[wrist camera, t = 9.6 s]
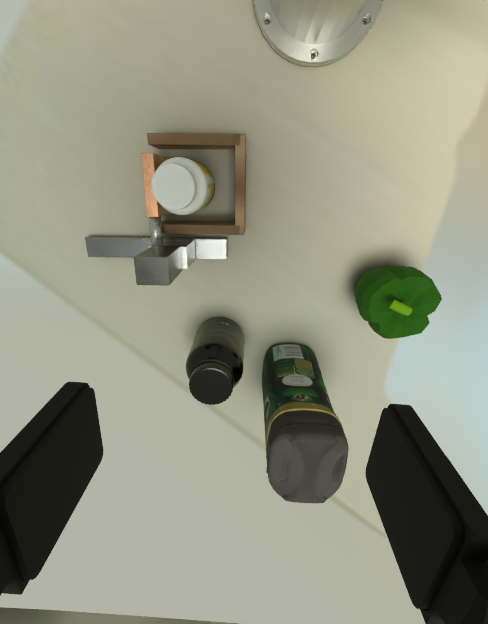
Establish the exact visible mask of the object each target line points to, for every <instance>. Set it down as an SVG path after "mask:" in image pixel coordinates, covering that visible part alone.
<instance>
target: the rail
mask: <svg viewBox="0 0 488 624" xmlns="http://www.w3.org/2000/svg"><path fill="white" fill-rule="evenodd" d="M162 239H181V240H194V242H195V259H227V238H179V237H162ZM85 240H86V246H87V252H88V257H131V258H134V256H136V255H138V254H139V253H141V252H143V251H145V250H146V249H148V248H149V246H150V245H152V242H151V237H115V236H88V237H85Z"/></svg>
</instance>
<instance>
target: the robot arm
mask: <svg viewBox="0 0 488 624" xmlns="http://www.w3.org/2000/svg"><path fill="white" fill-rule="evenodd" d="M382 1H383V0H253V2H254V10H255V14H256V17H257V21H258V24H259V27H260V29H261V31H262V33H263V35H264V37H265V39H266V40H267V41H268V43H269V44H270V45H271V47H272V48H273V49H274V50H275V51H276V52H277V53H278V54H279V55H281V56H282V57H283V58H285V59H287V60H288V61H290V62H292V63H295V64H298V65H302V66H311V67H316V66H322V65H327V64H330V63H332V62H335V61H337V60H339V59H340V58H342V57H343V56H345V55H347V54H348V53H349V52H350V51H351V50H353V49H354V48H355V47H356V46H357V45H358V44H359V43H360V41H361V40H362V39H363V38H364V36H365V35H366V34H367V32H368V31H369V29H370V28H371V26H372V25H373V23H374V21H375V19H376V17H377V14H378V12H379V10H380V8H381V5H382ZM363 20H364V21H365V22H366V25H365V24H363V23H362V21H363ZM265 21H269V22H270V24H268V25H266V24H265ZM312 54H313V55H314V56H315V59H311V55H312ZM102 456H103V446H102V439H101V432H100V425H99V419H98V412H97V406H96V399H95V393H94V389H93V388H90V387H89V385H88V384H87V383H81V382H67V383H66V384H65V385H64V386H63V387H62V388H61V389H60V390H59V391H58V392H57V393H56V394H55V395H54V397H52V399H50V401H49V402H48V403H47V404H46V405H45V406H44V407H43V408H42V409H41V410H40V411H39V412H38V413H37V414H36V415H35V416H34V418H33V419H32V420H31V421H30V422H29V423H28V424H27V425H26V426H25V427H24V428H23V429H22V430H21V431H20V432H19V433H18V435H17V436H16V437H15V438H14V439H13V440H12V441H11V442H10V443H9V444H8V445H7V446H6V447H5V448H4V450H3V451H2V452H1V453H0V595H1V593H8V594H22V593H23V591H24V589H25V587H26V585H27V584H28V582H29V580H30V579H31V580H33V579H34V578H36V577H37V575H38V574H39V573H40V571H41V569H42V567H43V566H44V564H45V562H46V560H47V558H48V556H49V555H50V553H51V551H52V549H53V547H54V546H55V544H56V542H57V540H58V538H59V537H60V535H61V533H62V531H63V529H64V527H65V525H66V524H67V522H68V520H69V518H70V517H71V515H72V513H73V511H74V509H75V508H76V506H77V504H78V502H79V500H80V498H81V497H82V495H83V493H84V491H85V489H86V487H87V486H88V484H89V482H90V480H91V478H92V477H93V475H94V473H95V471H96V469H97V468H98V465H99V464H100V462H101V460H102ZM366 479H367V482H368V485H369V488H370V491H371V493H372V496H373V499H374V501H375V504H376V507H377V509H378V512H379V515H380V518H381V520H382V523H383V526H384V528H385V531H386V534H387V536H388V539H389V542H390V544H391V547H392V550H393V553H394V555H395V558H396V561H397V563H398V566H399V569H400V572H401V574H402V577H403V580H404V582H405V585H406V588H407V590H408V593H409V596H410V599H411V601H412V603H413V605H414V606H415V607H416V608H418V609H420V610H421V613H422V615H423V618H424V620H425V623H426V624H488V516H487V514H486V513H485V511H484V510H483V508H482V507H481V505H480V504H479V503H478V501H477V500H476V498H475V497H474V495H473V494H472V492H471V491H470V490H469V488H468V487H467V485H466V484H465V482H464V481H463V480H462V478H461V477H460V475H459V474H458V472H457V471H456V469H455V468H454V467H453V465H452V464H451V462H450V461H449V459H448V458H447V457H446V456H445V454H444V453H443V451H442V450H441V448H440V447H439V446H438V444H437V443H436V441H435V440H434V438H433V437H432V435H431V434H430V433H429V431H428V430H427V428H426V427H425V425H424V424H423V422H422V421H421V419H420V418H419V417H418V415H417V414H416V412H415V411H414V409H413V408H412V407H411V406H410V405H401V404H390V405H389V406H388V408H384V409H383V411H382V414H381V417H380V421H379V424H378V428H377V431H376V435H375V438H374V442H373V446H372V449H371V453H370V456H369V460H368V463H367V467H366ZM0 624H237V623H224V622H210V621H197V620H183V619H171V618H170V619H169V618H156V617H142V616H129V615H115V614H100V613H86V612H72V611H57V610H39V609H19V608H0Z"/></svg>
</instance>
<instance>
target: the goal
mask: <svg viewBox="0 0 488 624" xmlns="http://www.w3.org/2000/svg"><path fill="white" fill-rule="evenodd" d="M147 138H148V144H149V145H151V146H153V147H156V148H158V149H235V222H205V221H163V222H161V227H162V234H223V235H244V233H245V187H246V136H245V134H185V133H147Z"/></svg>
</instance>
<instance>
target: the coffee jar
mask: <svg viewBox="0 0 488 624" xmlns="http://www.w3.org/2000/svg"><path fill="white" fill-rule="evenodd" d="M262 388H263V400H264V422H265V440H266V458H267V473H268V478H269V482H270V484H271V486H272V487H273V489H274V490H275V491H276V492H277V494H279V495H280V496H281V497H283V498H284V500H286V501H290V502H300V503H324V502H325V501H326V500H327V499H328V498H330V497H331V496H332V495H333V494H334V493H335V492H336V491H337V490H338V489H339V487H340V485H341V483H342V480H343V476H344V473H345V469H346V464H347V457H348V443H347V439H346V437H345V434H344V431H343V428H342V424H341V422H340V420H339V418H338V417H337V416H336V414H335V413H334V411H333V408H332V406H331V403H330V400H329V397H328V394H327V391H326V388H325V385H324V382H323V378H322V375H321V371H320V368H319V365H318V362H317V359H316V356H315V354H314V352H313V351H312V350H311V349H309V348H308V347H305V346H302V345H296V344H282V345H277V346H274V347H272V348H271V349H270V350H269V351H268V352H267V353H266V356H265V359H264V364H263V372H262Z"/></svg>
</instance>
